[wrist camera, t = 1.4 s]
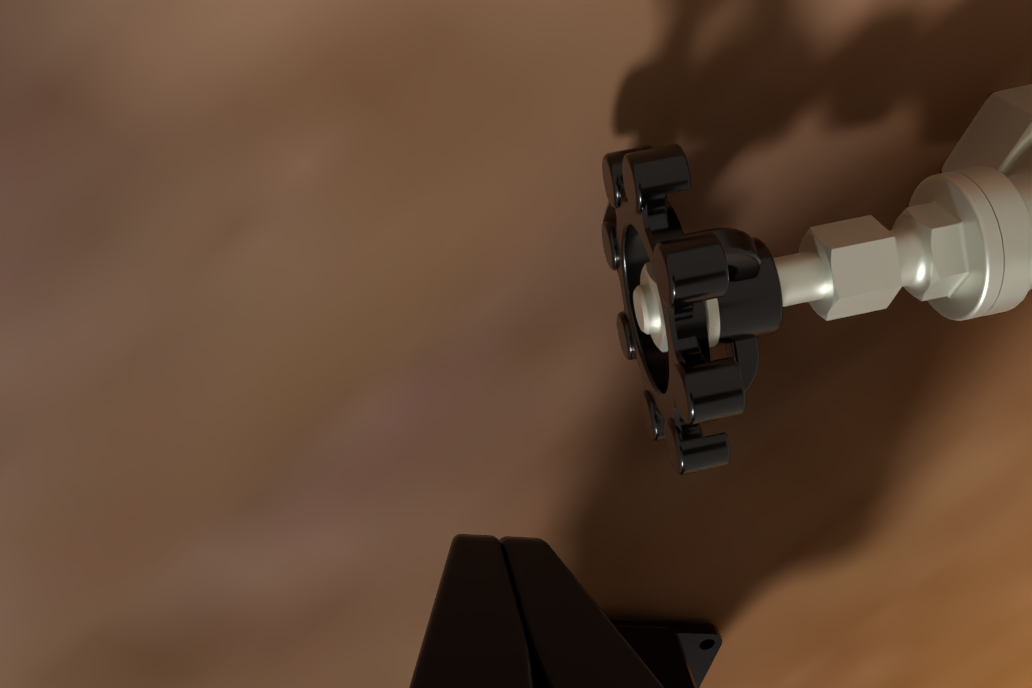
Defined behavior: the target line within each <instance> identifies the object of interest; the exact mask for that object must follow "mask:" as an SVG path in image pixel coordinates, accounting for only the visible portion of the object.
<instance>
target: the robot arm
mask: <svg viewBox="0 0 1032 688" xmlns="http://www.w3.org/2000/svg"><path fill="white" fill-rule="evenodd" d="M721 644H722V639H721V636H720V634H719V631H718V629H717V627H716V626H714V625H712V624H699V623H666V622H634V621H610V620H609V619H608V618H607V616H606V615H605V614H604V613H603V611H602V610H601V609H600V608H599V606H598V605H597V604H596V603H595V602H594V600H593V599H592V598H591V597H590V595H589V594H588V593H587V592H586V590H585V589H584V588H583V587H582V585H581V584H580V583H579V582H578V580H577V579H576V578H575V577H574V576H573V574H572V573H571V572H570V571H569V569H568V568H567V567H566V566H565V564H564V563H563V562H562V561H561V559H560V558H559V557H558V556H557V555H556V553H555V552H554V551H553V550H552V548H551V547H550V546H549V545H548V544H547V543H546V542H545V541H543V540H542V539H539V538H527V537H509V536H506V537H503V538H501V539H499V540H498V539H497V538H496V537H494V536H490V535H470V534H458V535H456V536H455V537H454V538H453V540H452V543H451V547H450V550H449V553H448V557H447V560H446V564H445V567H444V571H443V574H442V577H441V581H440V584H439V588H438V591H437V595H436V598H435V601H434V605H433V608H432V612H431V615H430V619H429V622H428V625H427V629H426V632H425V636H424V639H423V643H422V646H421V649H420V653H419V656H418V660H417V663H416V666H415V670H414V673H413V677H412V680H411V684H410V687H409V688H699V687H700V685H701V683H702V681H703V679H704V677H705V675H706V673H707V671H708V669H709V668H710V666H711V664H712V662H713V660H714V658H715V656H716V654H717V652H718V650H719V648H720V646H721Z"/></svg>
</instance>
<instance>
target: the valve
mask: <svg viewBox="0 0 1032 688" xmlns="http://www.w3.org/2000/svg"><path fill="white" fill-rule="evenodd" d="M602 170H603V179H604V185H605V189H606V194H607V197H608V200H609V202H610V204H611V206H612V207H613V208H615V210H616V218H617V219H613V220H608V221H605V222H604V223H603V224H602V240H603V246H604V251H605V255H606V259H607V262H608V264H609V266H610V268H611V269H612V270H617V272H618V275H619V279H620V283H621V289H622V295H623V301H624V311H623V312H620V313H618V315H617V329H618V335H619V340H620V344H621V347H622V350H623V353H624V355H625V357H626V358H627V359H628V360H633V359H637V360H638V363H639V367H640V370H641V373H642V377H643V381H644V387H645V390H644V391H643V392H642V393H641V407H642V413H643V418H644V422H645V426H646V429H647V432H648V434H649V436H650V438H651V439H652V440H654V441H659V440H664V439H665V442H666V447H667V451H668V455H669V458H670V461H671V464H672V466H673V468H674V470H675V471H676V473H678V474H679V475H684V474H689V473H694V472H699V471H703V470H708V469H713V468H718V467H722V466H726V465H727V464H728V463H729V460H730V448H729V441H728V437H727V434H726V433H719V434H714V435H709V436H705V437H703V433H702V430H701V427H700V423H704V422H709V421H714V420H718V419H723V418H728V417H733V416H738V415H741V414H742V413H743V412H744V410H745V405H746V395H745V392H746V391H747V390H748V389H749V387H750V386H751V384H752V382H753V380H754V378H755V376H756V374H757V370H758V366H759V357H760V356H759V345H758V340H757V337H762V336H767V335H772V334H774V333H775V332H777V330H778V329H779V327H780V324H781V320H782V313H783V307H784V306H789V305H794V304H799V303H804V302H809V304H810V305H811V307H812V308H813V310H814V311H815V312H816V313H817V314H818V315H819V316H821V317H822V318H823V319H825V320H826V321H829V320H833V319H838V318H843V317H848V316H853V315H858V314H863V313H867V312H872V311H877V310H882V309H887V307H888V306H889V304H890V303H891V302H892V300H893V299H894V297H895V296H896V295H897V293H898V292H899V290H900V289H901V288H902V286H903V287H904V288H905V289H906V290H907V291H908V292H909V293H910V294H911V295H913V296H914V297H916V298H917V299H919V300H920V301H926V300H927V301H928V303H929V304H930V305H931V306H932V307H933V308H934V309H935V310H936V311H937V312H938V313H940V314H941V315H942V316H944V317H946V318H948V319H951V320H956V321H961V320H967V319H972V318H976V317H981V316H987V315H992V314H996V313H1001V312H1006V311H1009V310H1011V309H1013V308H1015V307H1016V306H1017V305H1018V304H1019V303H1020V302H1021V301H1022V300H1024V298H1025V296H1026V295H1027V293H1028V291H1029V290H1030V289H1032V84H1030V85H1025V86H1020V87H1015V88H1009V89H1004V90H1000V91H997V92H994V93H992V94H991V95H990V96H989V97H988V99H987V100H986V101H985V102H984V104H983V105H982V107H981V108H980V110H979V111H978V113H977V114H976V116H975V117H974V119H973V120H972V122H971V123H970V125H969V126H968V128H967V129H966V131H965V132H964V134H963V135H962V137H961V138H960V140H959V141H958V143H957V145H956V146H955V148H954V149H953V151H952V152H951V154H950V155H949V157H948V158H947V160H946V161H945V163H944V165H943V167H942V169H941V171H942V173H940V174H936V175H932V176H930V177H928V178H926V179H924V180H923V181H922V182H921V183H920V184H919V185H918V187H917V188H916V189H915V191H914V193H913V195H912V197H911V200H910V203H909V206H908V207H907V208H906V209H905V210H904V211H903V212H902V213H901V214H900V215H899V217H898V218H897V219H896V221H895V223H894V225H893V227H892V230H887V229H886V228H885V227H884V226H883V225H882V224H881V223H880V222H879V221H877V220H876V219H875V218H874V217H873V216H872V215H867V216H862V217H857V218H853V219H848V220H843V221H838V222H833V223H828V224H823V225H818V226H813V227H810V228H809V230H808V231H807V232H806V233H805V235H804V237H803V238H802V240H801V243H800V246H799V253H796V254H791V255H786V256H781V257H776V258H773V257H772V255H771V253H770V251H769V249H768V248H767V246H766V245H765V243H764V242H763V241H762V240H761V239H759V238H757V237H751V236H750V235H748V234H747V233H745V232H744V231H740V230H737V229H731V228H715V229H708V230H702V231H697V232H693V233H688V234H684V232H683V230H682V227H681V225H680V223H679V220H678V218H677V216H676V214H675V212H674V210H673V208H672V207H671V205H670V204H669V202H668V201H667V193H672V192H677V191H682V190H687V189H689V188H691V180H690V172H689V167H688V163H687V159H686V156H685V154H684V152H683V150H682V148H681V147H680V146H679V145H678V144H670V145H665V146H660V147H655V148H653V147H652V146H650V145H647V146H642V147H637V148H632V149H627V150H622V151H617V152H612V153H607V154H605V155H604V157H603V161H602ZM723 344H726V349H727V355H728V358H724V359H719V360H714V361H710V350H709V347H714V346H718V345H723Z"/></svg>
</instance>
